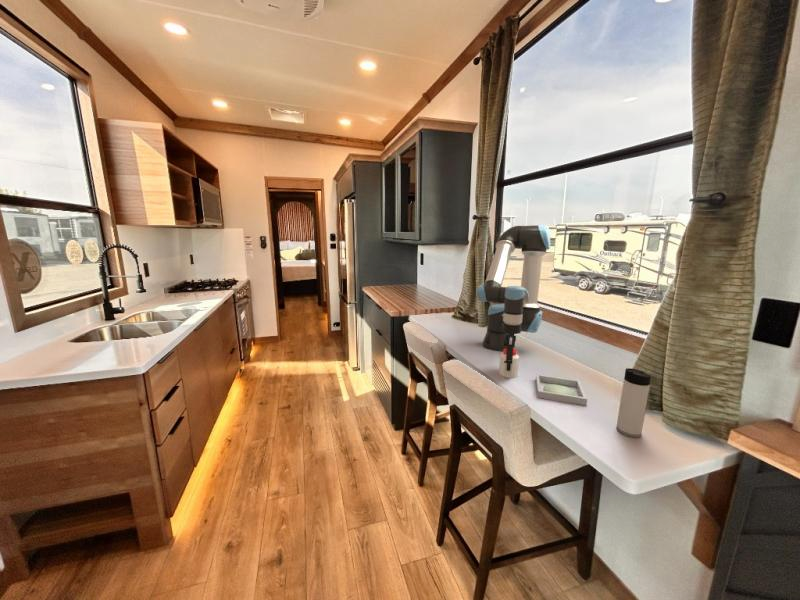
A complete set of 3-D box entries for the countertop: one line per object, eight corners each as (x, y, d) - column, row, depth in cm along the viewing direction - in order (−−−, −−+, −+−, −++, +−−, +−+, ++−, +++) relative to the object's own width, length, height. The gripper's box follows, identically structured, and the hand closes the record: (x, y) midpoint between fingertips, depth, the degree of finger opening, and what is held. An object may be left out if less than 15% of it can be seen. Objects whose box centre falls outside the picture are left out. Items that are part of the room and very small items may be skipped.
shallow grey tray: (535, 379, 133) (536, 374, 132) (578, 386, 127) (579, 380, 127) (537, 397, 118) (538, 391, 117) (586, 405, 112) (587, 399, 112)
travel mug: (610, 426, 100) (619, 366, 96) (629, 425, 101) (639, 366, 97) (625, 438, 94) (636, 375, 90) (646, 437, 95) (657, 374, 91)
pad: (542, 383, 129) (542, 382, 129) (572, 387, 126) (572, 386, 126) (544, 395, 119) (544, 394, 119) (577, 401, 115) (577, 399, 115)
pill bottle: (518, 378, 134) (521, 353, 132) (499, 376, 135) (501, 352, 133) (516, 371, 141) (518, 347, 139) (498, 369, 143) (499, 346, 140)
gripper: (504, 316, 145) (500, 362, 150) (501, 328, 125) (497, 381, 129) (521, 317, 143) (517, 364, 147) (521, 330, 122) (517, 384, 126)
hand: (508, 372), depth 138 cm, fingers open, 10 cm apart
